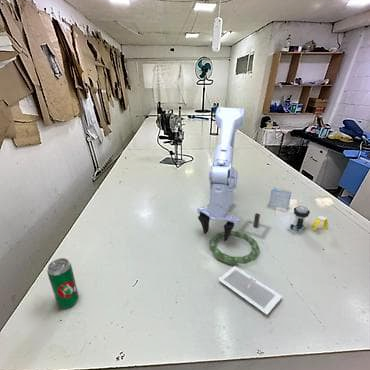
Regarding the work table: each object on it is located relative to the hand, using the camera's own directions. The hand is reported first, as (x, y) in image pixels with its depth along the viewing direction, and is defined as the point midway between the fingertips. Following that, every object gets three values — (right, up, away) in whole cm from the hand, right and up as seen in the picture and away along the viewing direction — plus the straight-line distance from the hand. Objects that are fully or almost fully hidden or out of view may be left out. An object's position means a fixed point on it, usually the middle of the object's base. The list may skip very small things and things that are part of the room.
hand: (215, 236), depth 82 cm
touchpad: (+6, -11, -18) cm, 22 cm away
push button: (+32, 0, +8) cm, 33 cm away
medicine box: (+32, +8, +25) cm, 41 cm away
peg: (+16, +1, +9) cm, 19 cm away
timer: (+40, +2, +7) cm, 41 cm away
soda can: (-40, -12, -22) cm, 48 cm away
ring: (+6, -3, -3) cm, 7 cm away
